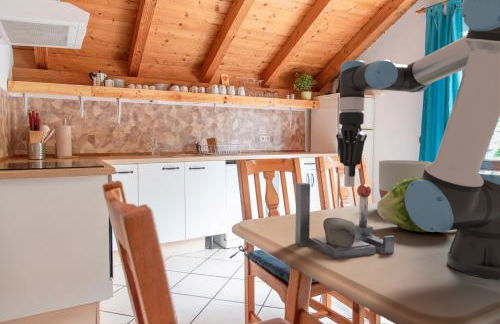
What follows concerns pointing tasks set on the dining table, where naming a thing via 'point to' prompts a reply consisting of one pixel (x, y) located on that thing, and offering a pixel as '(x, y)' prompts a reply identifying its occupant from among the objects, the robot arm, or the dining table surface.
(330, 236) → the stone
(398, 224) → the lettuce
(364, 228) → the lever
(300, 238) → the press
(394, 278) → the dining table surface
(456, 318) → the dining table surface
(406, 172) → the planter
